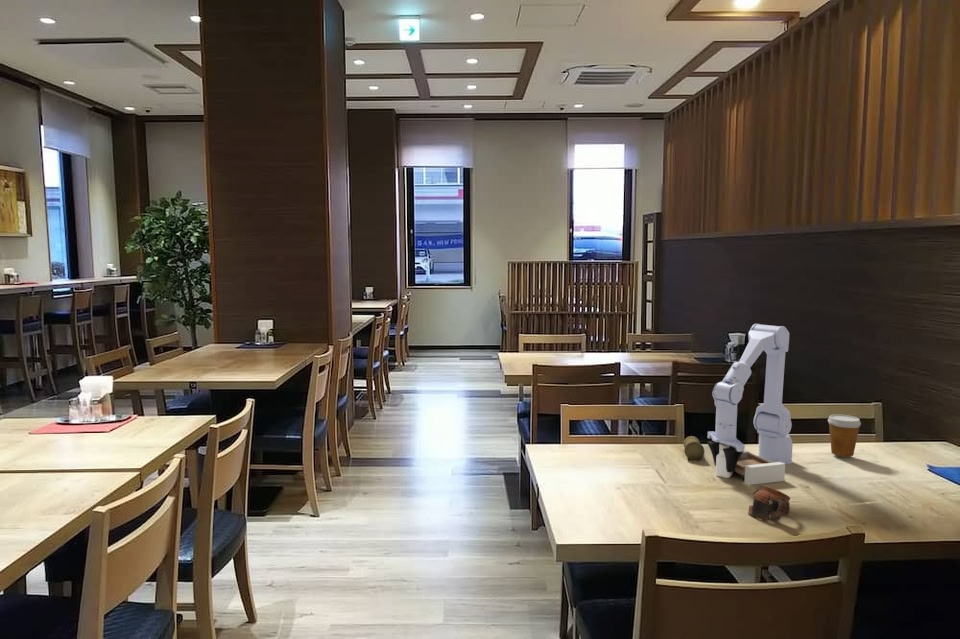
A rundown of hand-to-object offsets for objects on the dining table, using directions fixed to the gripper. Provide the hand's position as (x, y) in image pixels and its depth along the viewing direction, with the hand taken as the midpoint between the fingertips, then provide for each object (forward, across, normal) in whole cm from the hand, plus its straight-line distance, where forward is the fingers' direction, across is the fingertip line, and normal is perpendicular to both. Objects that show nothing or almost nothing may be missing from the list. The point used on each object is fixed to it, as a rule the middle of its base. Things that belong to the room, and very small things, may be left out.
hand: (724, 468), depth 193 cm
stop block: (+2, +8, +8) cm, 11 cm away
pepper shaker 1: (-1, -15, 0) cm, 15 cm away
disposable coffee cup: (+2, -7, +50) cm, 51 cm away
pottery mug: (+3, +30, -10) cm, 32 cm away
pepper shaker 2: (+2, 0, 0) cm, 2 cm away
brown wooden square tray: (+2, 0, +8) cm, 8 cm away
